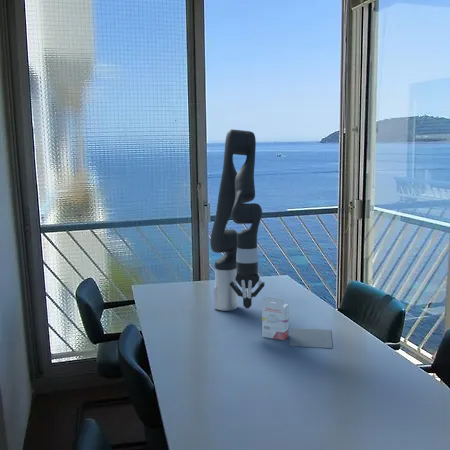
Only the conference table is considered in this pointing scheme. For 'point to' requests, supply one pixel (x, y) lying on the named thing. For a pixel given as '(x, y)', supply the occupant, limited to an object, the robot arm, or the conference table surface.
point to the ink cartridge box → (275, 318)
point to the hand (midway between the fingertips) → (247, 307)
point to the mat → (311, 338)
